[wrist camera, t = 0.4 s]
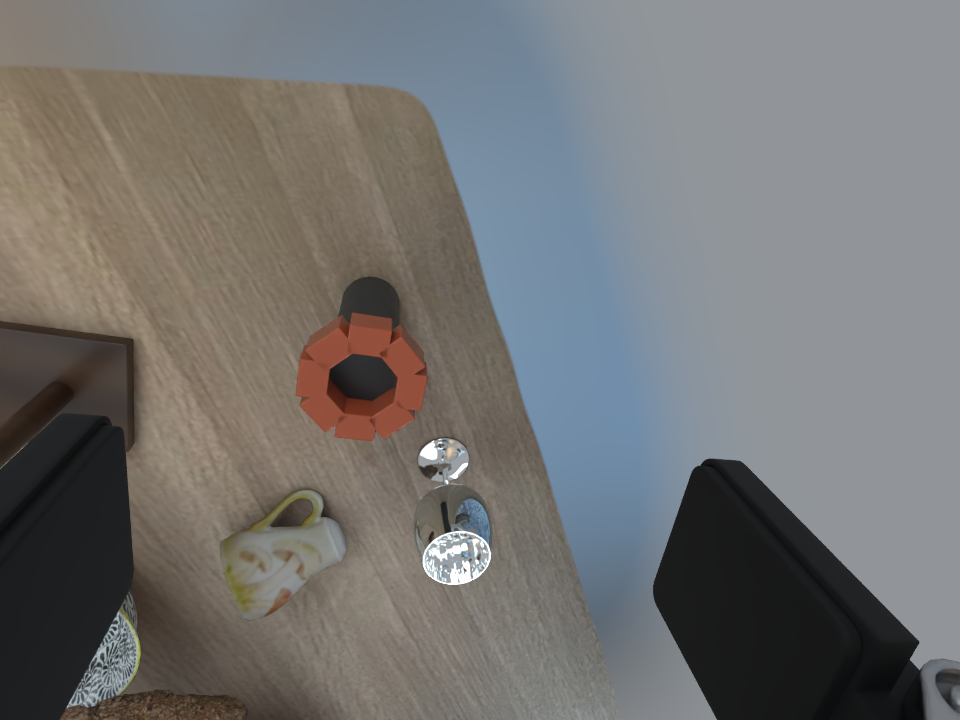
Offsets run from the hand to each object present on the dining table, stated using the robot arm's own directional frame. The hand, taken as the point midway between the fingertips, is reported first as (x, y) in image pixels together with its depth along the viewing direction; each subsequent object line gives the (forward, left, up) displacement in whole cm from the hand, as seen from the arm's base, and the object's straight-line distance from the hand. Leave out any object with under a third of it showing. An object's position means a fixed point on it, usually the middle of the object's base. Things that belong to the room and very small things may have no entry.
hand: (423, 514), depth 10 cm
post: (+18, -22, -35) cm, 45 cm away
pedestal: (+8, -1, -35) cm, 36 cm away
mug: (+30, -5, -36) cm, 47 cm away
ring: (+8, -1, -23) cm, 25 cm away
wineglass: (+21, +7, -36) cm, 42 cm away
